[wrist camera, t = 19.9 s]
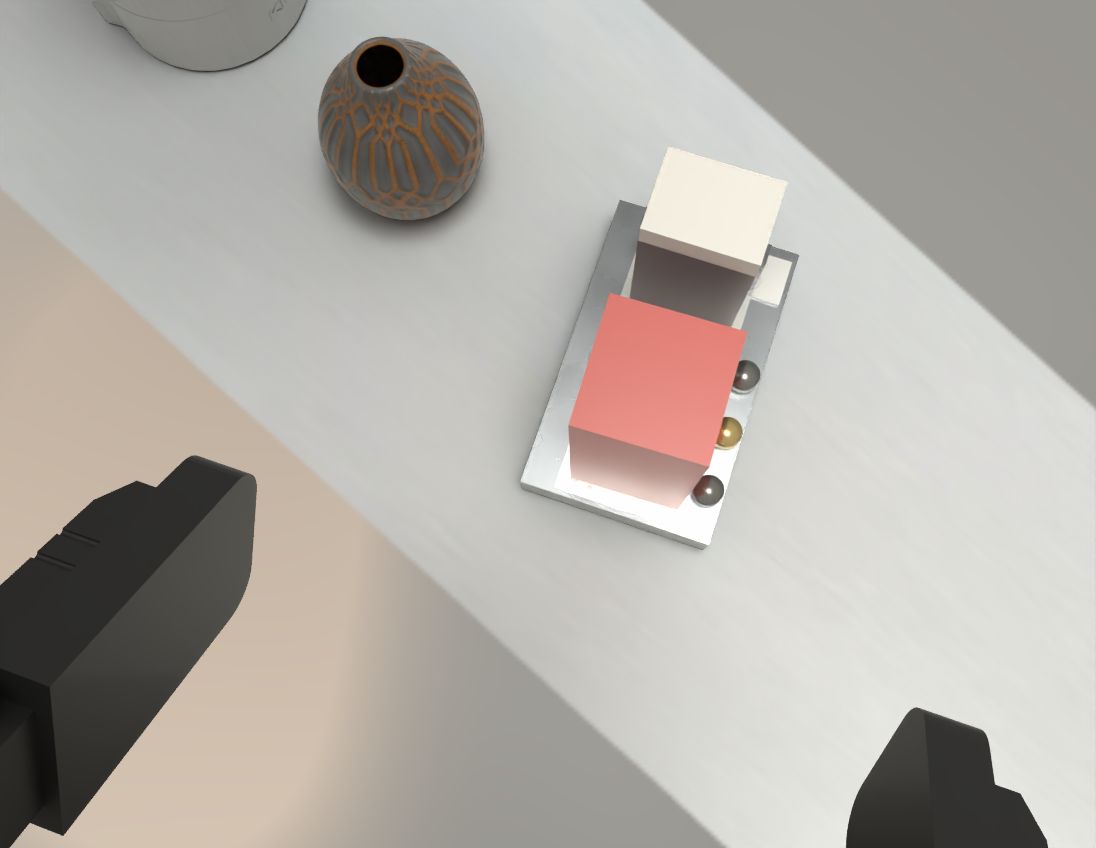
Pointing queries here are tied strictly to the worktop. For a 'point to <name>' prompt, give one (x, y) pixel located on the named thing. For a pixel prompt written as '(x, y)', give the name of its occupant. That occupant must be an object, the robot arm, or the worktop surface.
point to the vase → (401, 128)
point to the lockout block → (652, 401)
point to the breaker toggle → (704, 236)
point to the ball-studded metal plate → (703, 504)
